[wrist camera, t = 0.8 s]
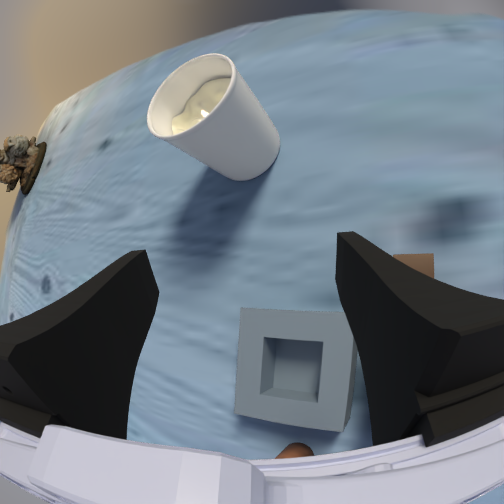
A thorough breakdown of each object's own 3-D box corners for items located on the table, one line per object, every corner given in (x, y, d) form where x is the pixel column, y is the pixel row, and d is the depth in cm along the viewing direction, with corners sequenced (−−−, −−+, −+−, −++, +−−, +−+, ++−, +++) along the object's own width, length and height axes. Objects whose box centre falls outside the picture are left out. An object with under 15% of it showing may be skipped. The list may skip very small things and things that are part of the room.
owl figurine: (30, 199, 67) (-18, 182, 52) (21, 197, 73) (-22, 183, 58) (51, 140, 68) (6, 119, 54) (39, 144, 74) (-1, 126, 59)
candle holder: (200, 176, 37) (131, 132, 26) (234, 111, 37) (179, 56, 26) (264, 198, 32) (197, 145, 21) (300, 122, 32) (253, 51, 21)
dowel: (311, 470, 24) (281, 511, 17) (282, 465, 25) (245, 501, 18) (315, 445, 24) (286, 483, 17) (285, 440, 26) (247, 473, 19)
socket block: (350, 417, 24) (342, 432, 20) (253, 403, 28) (234, 413, 25) (360, 312, 26) (354, 312, 22) (259, 308, 30) (240, 307, 27)
